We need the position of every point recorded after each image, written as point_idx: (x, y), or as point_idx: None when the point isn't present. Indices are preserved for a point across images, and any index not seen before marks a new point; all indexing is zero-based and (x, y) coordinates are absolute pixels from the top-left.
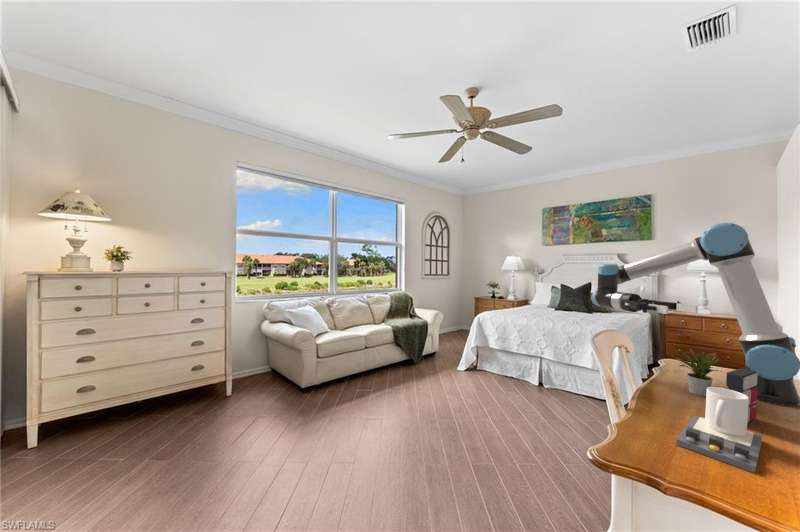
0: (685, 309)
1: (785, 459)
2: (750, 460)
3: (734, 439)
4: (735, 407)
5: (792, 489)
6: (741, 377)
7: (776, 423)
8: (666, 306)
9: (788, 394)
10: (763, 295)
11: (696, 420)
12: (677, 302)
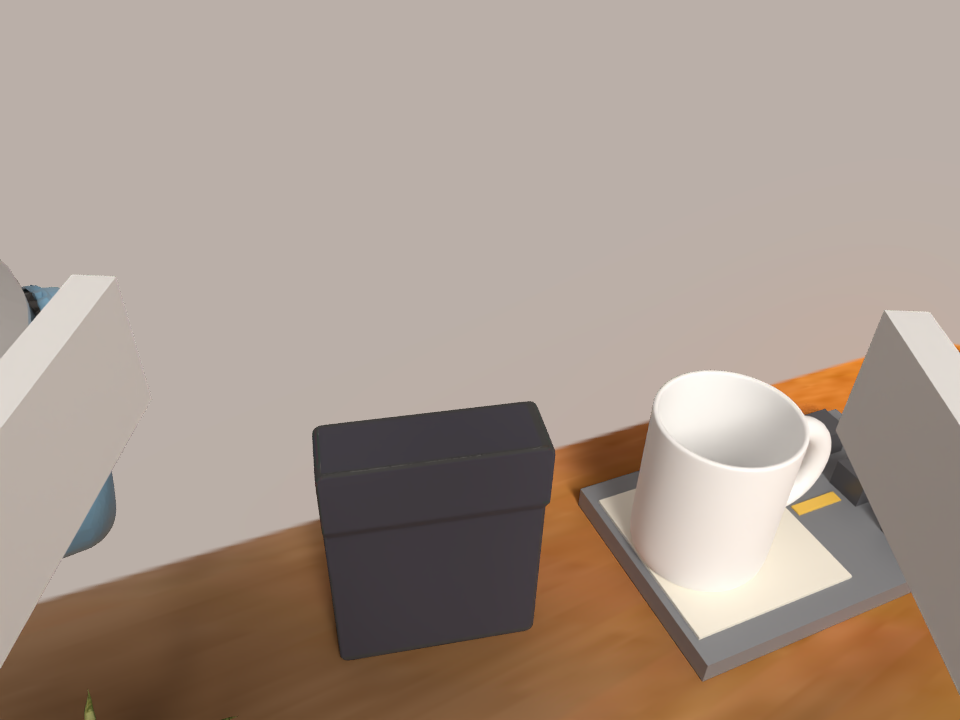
0: (56, 502)
1: (640, 436)
2: None
3: None
4: (749, 410)
5: (793, 379)
6: (536, 408)
7: (294, 567)
8: (927, 314)
9: None
10: None
11: (750, 625)
12: None
